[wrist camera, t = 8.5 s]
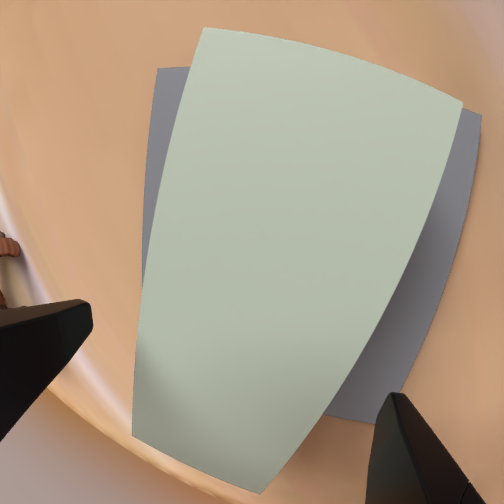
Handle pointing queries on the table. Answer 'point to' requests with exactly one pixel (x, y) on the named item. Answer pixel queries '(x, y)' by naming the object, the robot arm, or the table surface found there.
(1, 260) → the table surface
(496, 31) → the table surface
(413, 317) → the peg plate
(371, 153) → the shelf board
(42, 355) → the robot arm
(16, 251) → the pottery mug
